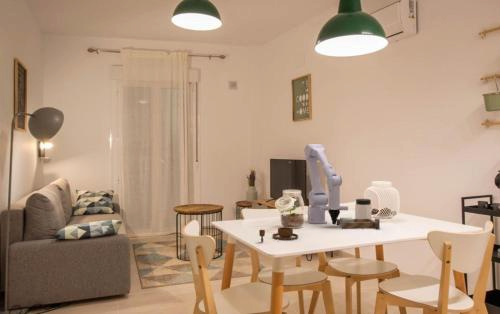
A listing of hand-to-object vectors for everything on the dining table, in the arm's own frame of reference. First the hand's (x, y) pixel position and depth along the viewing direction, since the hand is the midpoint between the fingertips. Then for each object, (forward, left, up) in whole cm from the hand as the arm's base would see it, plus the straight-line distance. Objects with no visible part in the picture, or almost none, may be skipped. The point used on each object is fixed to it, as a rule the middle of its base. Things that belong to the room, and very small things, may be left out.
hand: (334, 224), depth 218 cm
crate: (+7, 0, -2) cm, 7 cm away
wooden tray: (+12, -1, -1) cm, 12 cm away
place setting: (-34, -25, -2) cm, 42 cm away
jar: (+22, +18, -2) cm, 28 cm away
